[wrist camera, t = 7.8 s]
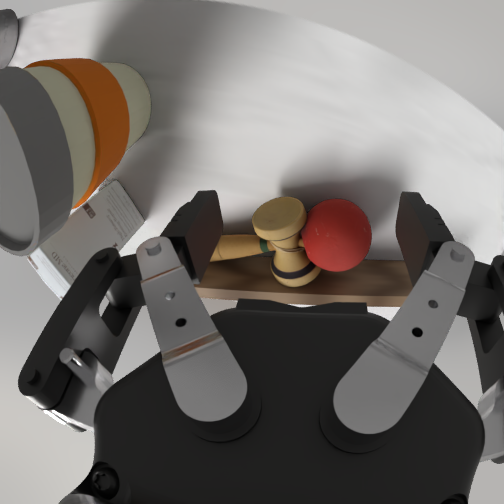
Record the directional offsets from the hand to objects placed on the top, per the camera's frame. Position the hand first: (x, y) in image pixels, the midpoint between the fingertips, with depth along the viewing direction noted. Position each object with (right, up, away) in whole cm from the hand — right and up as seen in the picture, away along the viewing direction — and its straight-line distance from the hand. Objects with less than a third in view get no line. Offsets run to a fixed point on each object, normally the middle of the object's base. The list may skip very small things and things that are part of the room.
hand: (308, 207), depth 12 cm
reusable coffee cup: (-16, +12, +10) cm, 22 cm away
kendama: (0, +1, +16) cm, 16 cm away
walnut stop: (+4, -3, +17) cm, 18 cm away
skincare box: (-17, +3, +18) cm, 25 cm away
